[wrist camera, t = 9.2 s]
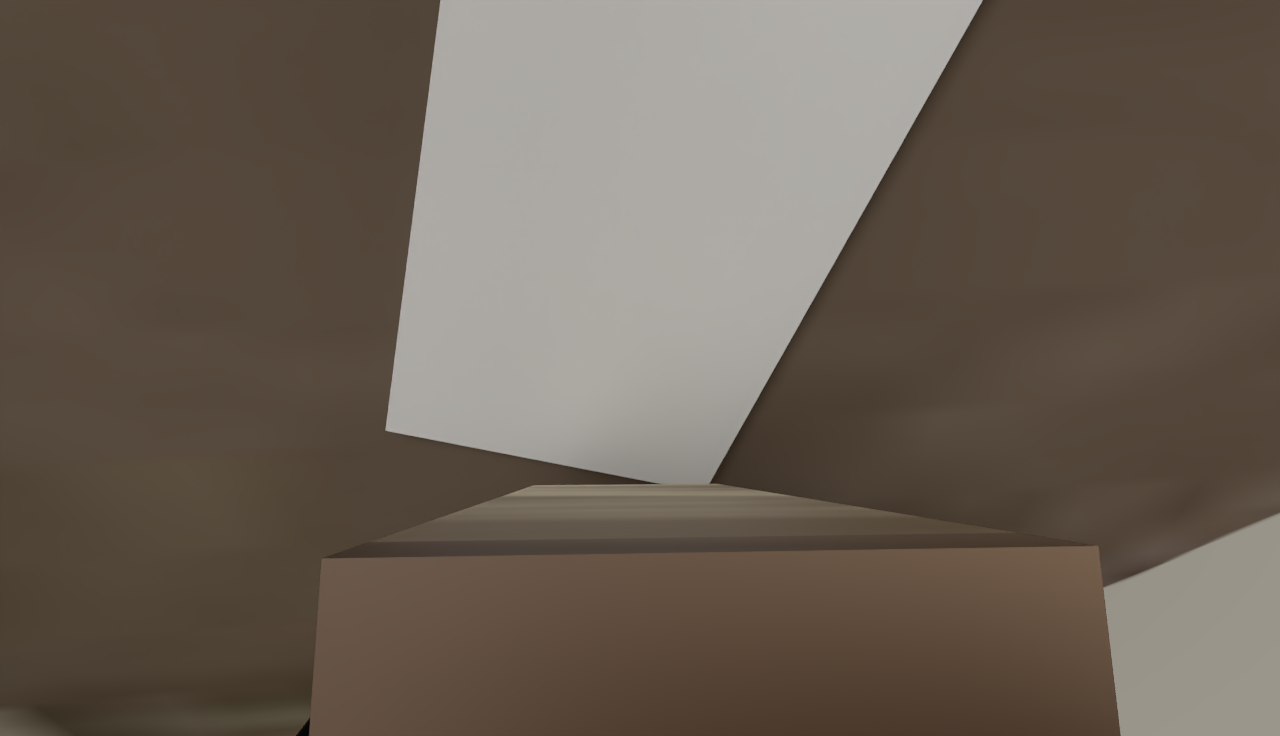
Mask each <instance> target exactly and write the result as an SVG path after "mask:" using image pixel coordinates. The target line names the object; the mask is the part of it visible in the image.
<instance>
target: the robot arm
mask: <svg viewBox="0 0 1280 736" xmlns="http://www.w3.org/2000/svg"><path fill="white" fill-rule="evenodd" d="M309 729H310V718H309V720H308V721H307V722H306V724H305V725H304V726H303V728H302V729H301V730H300V731H299V733H298V734H297V735H296V736H309Z"/></svg>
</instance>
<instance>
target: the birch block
mask: <svg viewBox="0 0 1280 736" xmlns="http://www.w3.org/2000/svg"><path fill="white" fill-rule="evenodd" d="M309 736H1120V727H1119V719H1118V710H1117V702H1116V693H1115V684H1114V676H1113V668H1112V659H1111V651H1110V643H1109V633H1108V625H1107V616H1106V608H1105V600H1104V591H1103V582H1102V573H1101V565H1100V556H1099V548H1098V546H1096V545H1090V544H1083V543H1077V542H1071V541H1065V540H1059V539H1053V538H1047V537H1040V536H1034V535H1028V534H1022V533H1016V532H1010V531H1004V530H997V529H991V528H985V527H979V526H973V525H967V524H961V523H955V522H948V521H942V520H936V519H930V518H924V517H918V516H912V515H905V514H899V513H893V512H887V511H881V510H875V509H869V508H862V507H856V506H850V505H844V504H838V503H832V502H826V501H820V500H813V499H807V498H801V497H795V496H789V495H783V494H777V493H770V492H764V491H758V490H752V489H746V488H740V487H734V486H727V485H721V484H635V485H533V486H531V487H528V488H525V489H522V490H519V491H516V492H513V493H510V494H507V495H504V496H502V497H499V498H496V499H493V500H490V501H487V502H484V503H481V504H478V505H475V506H473V507H470V508H467V509H464V510H461V511H458V512H455V513H452V514H449V515H447V516H444V517H441V518H438V519H435V520H432V521H429V522H426V523H423V524H420V525H418V526H415V527H412V528H409V529H406V530H403V531H400V532H397V533H394V534H391V535H389V536H386V537H383V538H380V539H377V540H374V541H371V542H368V543H365V544H362V545H360V546H357V547H354V548H351V549H348V550H345V551H342V552H339V553H336V554H333V555H331V556H328V557H325V558H322V562H321V576H320V590H319V604H318V618H317V631H316V645H315V659H314V673H313V687H312V701H311V715H310V729H309Z"/></svg>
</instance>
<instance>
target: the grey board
mask: <svg viewBox="0 0 1280 736" xmlns="http://www.w3.org/2000/svg"><path fill="white" fill-rule="evenodd" d="M982 1H983V0H441V1H440V9H439V17H438V25H437V32H436V40H435V48H434V56H433V64H432V71H431V79H430V87H429V95H428V103H427V110H426V118H425V126H424V134H423V142H422V149H421V157H420V165H419V173H418V181H417V188H416V196H415V204H414V212H413V220H412V227H411V235H410V243H409V251H408V259H407V267H406V274H405V282H404V290H403V298H402V306H401V313H400V321H399V329H398V337H397V345H396V352H395V360H394V368H393V376H392V384H391V391H390V399H389V407H388V415H387V423H386V430H385V431H390V432H395V433H400V434H406V435H411V436H416V437H421V438H426V439H431V440H437V441H442V442H447V443H452V444H457V445H462V446H468V447H473V448H478V449H483V450H488V451H493V452H498V453H504V454H509V455H514V456H519V457H524V458H529V459H535V460H540V461H545V462H550V463H555V464H560V465H565V466H571V467H576V468H581V469H586V470H591V471H596V472H602V473H607V474H612V475H617V476H622V477H627V478H632V479H638V480H643V481H648V482H653V483H658V484H709V483H710V482H711V480H712V478H713V476H714V474H715V473H716V471H717V469H718V467H719V466H720V464H721V462H722V460H723V459H724V457H725V455H726V453H727V451H728V450H729V448H730V446H731V444H732V443H733V441H734V439H735V437H736V436H737V434H738V432H739V430H740V428H741V427H742V425H743V423H744V421H745V420H746V418H747V416H748V414H749V413H750V411H751V409H752V407H753V406H754V404H755V402H756V400H757V398H758V397H759V395H760V393H761V391H762V390H763V388H764V386H765V384H766V383H767V381H768V379H769V377H770V375H771V374H772V372H773V370H774V368H775V367H776V365H777V363H778V361H779V360H780V358H781V356H782V354H783V352H784V351H785V349H786V347H787V345H788V344H789V342H790V340H791V338H792V337H793V335H794V333H795V331H796V330H797V328H798V326H799V324H800V322H801V321H802V319H803V317H804V315H805V314H806V312H807V310H808V308H809V307H810V305H811V303H812V301H813V299H814V298H815V296H816V294H817V292H818V291H819V289H820V287H821V285H822V284H823V282H824V280H825V278H826V277H827V275H828V273H829V271H830V269H831V268H832V266H833V264H834V262H835V261H836V259H837V257H838V255H839V254H840V252H841V250H842V248H843V246H844V245H845V243H846V241H847V239H848V238H849V236H850V234H851V232H852V231H853V229H854V227H855V225H856V223H857V222H858V220H859V218H860V216H861V215H862V213H863V211H864V209H865V208H866V206H867V204H868V202H869V201H870V199H871V197H872V195H873V193H874V192H875V190H876V188H877V186H878V185H879V183H880V181H881V179H882V178H883V176H884V174H885V172H886V170H887V169H888V167H889V165H890V163H891V162H892V160H893V158H894V156H895V155H896V153H897V151H898V149H899V147H900V146H901V144H902V142H903V140H904V139H905V137H906V135H907V133H908V132H909V130H910V128H911V126H912V125H913V123H914V121H915V119H916V117H917V116H918V114H919V112H920V110H921V109H922V107H923V105H924V103H925V102H926V100H927V98H928V96H929V94H930V93H931V91H932V89H933V87H934V86H935V84H936V82H937V80H938V79H939V77H940V75H941V73H942V71H943V70H944V68H945V66H946V64H947V63H948V61H949V59H950V57H951V56H952V54H953V52H954V50H955V49H956V47H957V45H958V43H959V41H960V40H961V38H962V36H963V34H964V33H965V31H966V29H967V27H968V26H969V24H970V22H971V20H972V18H973V17H974V15H975V13H976V11H977V10H978V8H979V6H980V4H981V3H982Z"/></svg>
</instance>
